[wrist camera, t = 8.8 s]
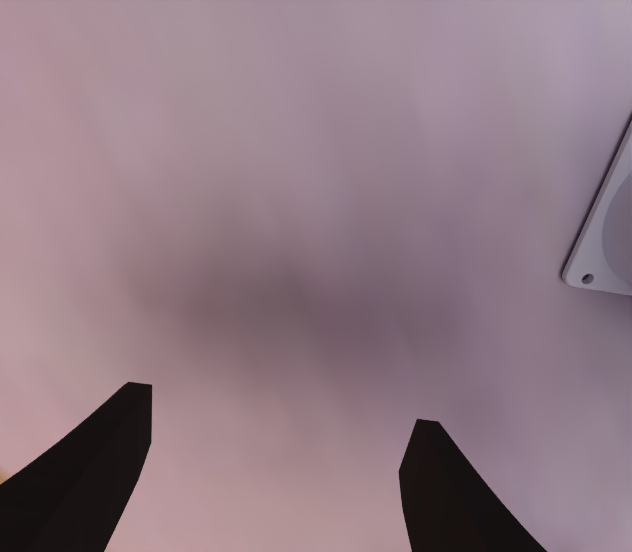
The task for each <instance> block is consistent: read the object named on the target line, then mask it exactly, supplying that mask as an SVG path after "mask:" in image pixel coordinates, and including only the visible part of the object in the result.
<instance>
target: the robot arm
mask: <svg viewBox="0 0 632 552" xmlns="http://www.w3.org/2000/svg"><path fill="white" fill-rule="evenodd" d="M586 274H589V275H588V277H587V278H586V279H585V280H582V278H583V276H584V275H586ZM562 278H563V281H564V282H565V283H566V284H568V285H569V286H572V287H577V288H584V289H590V290H597V291H603V292H609V293H616V294H622V295H628V296H632V121H631V123H630V125H629V128H628V130H627V132H626V134H625V137H624V139H623V141H622V143H621V145H620V148H619V150H618V152H617V154H616V156H615V159H614V161H613V163H612V165H611V167H610V170H609V172H608V174H607V176H606V178H605V181H604V183H603V185H602V187H601V190H600V192H599V194H598V196H597V198H596V201H595V203H594V205H593V207H592V209H591V212H590V214H589V216H588V218H587V220H586V223H585V225H584V227H583V229H582V231H581V234H580V236H579V238H578V240H577V243H576V245H575V247H574V249H573V251H572V254H571V256H570V258H569V260H568V262H567V265H566V267H565V269H564V271H563V274H562ZM151 429H152V385H149V384H141V383H134V382H128V383H126V384H125V385H123V386H122V387H121V388H120V389H119V390H118V391H117V392H116V393H115V394H114V395H112V396H111V397H110V398H109V399H108V400H107V401H106V402H105V403H104V404H102V405H101V406H100V407H99V408H98V409H97V410H96V411H94V412H93V413H92V414H91V415H90V416H89V417H88V418H86V419H85V420H84V421H83V422H82V423H80V424H79V425H78V426H77V427H76V428H74V429H73V430H72V431H71V432H70V433H68V434H67V435H66V436H65V437H64V438H62V439H61V440H60V441H59V442H57V443H56V444H55V445H54V446H52V447H51V448H50V449H48V450H47V451H46V452H44V453H43V454H42V455H40V456H39V457H38V458H36V459H35V460H34V461H33V462H31V463H30V464H29V465H27V466H26V467H25V468H23V469H22V470H20V471H19V472H18V473H16V474H15V475H13V476H12V477H10V478H9V479H8V480H6V481H5V482H3V483H2V484H0V552H104V551H105V549H106V547H107V544H108V542H109V540H110V538H111V536H112V534H113V532H114V530H115V528H116V526H117V524H118V522H119V519H120V517H121V515H122V513H123V511H124V509H125V507H126V505H127V503H128V501H129V498H130V496H131V494H132V492H133V490H134V488H135V486H136V484H137V481H138V479H139V476H140V473H141V471H142V468H143V465H144V462H145V459H146V456H147V453H148V450H149V447H150V445H151ZM399 480H400V491H401V500H402V508H403V513H404V518H405V523H406V527H407V531H408V536H409V540H410V545H411V549H412V552H547V551H546V550H545V549H544V548H543V547H542V546H541V545H540V544H539V543H538V542H537V541H536V540H535V539H534V538H533V537H532V536H531V535H530V533H529V532H528V531H527V530H526V529H525V528H524V527H523V526H522V525H521V524H520V523H519V521H518V520H517V519H516V518H515V517H514V516H513V515H512V514H511V512H510V511H509V510H508V509H507V508H506V507H505V506H504V504H503V503H502V502H501V501H500V500H499V499H498V497H497V496H496V495H495V494H494V493H493V491H492V490H491V489H490V488H489V486H488V485H487V484H486V483H485V482H484V480H483V479H482V478H481V476H480V475H479V474H478V473H477V471H476V470H475V469H474V468H473V466H472V465H471V464H470V462H469V461H468V460H467V458H466V457H465V456H464V455H463V453H462V452H461V451H460V449H459V448H458V447H457V445H456V444H455V443H454V441H453V440H452V439H451V437H450V436H449V435H448V433H447V432H446V431H445V429H444V428H443V427H442V426H441V424H440V423H439V422H437V421H429V420H422V419H417V421H416V423H415V426H414V429H413V432H412V435H411V438H410V441H409V443H408V446H407V449H406V452H405V455H404V458H403V460H402V463H401V466H400V469H399Z"/></svg>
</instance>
